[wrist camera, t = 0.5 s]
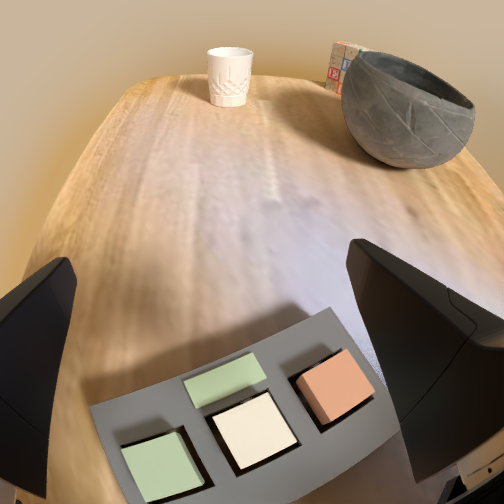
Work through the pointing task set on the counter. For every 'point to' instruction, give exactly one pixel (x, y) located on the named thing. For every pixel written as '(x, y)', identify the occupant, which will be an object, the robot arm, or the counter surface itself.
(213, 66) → the white cup
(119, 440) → the console
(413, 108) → the bowl
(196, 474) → the sage button
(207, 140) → the counter surface
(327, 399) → the terracotta button
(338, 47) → the stack of blocks
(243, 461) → the cream button
